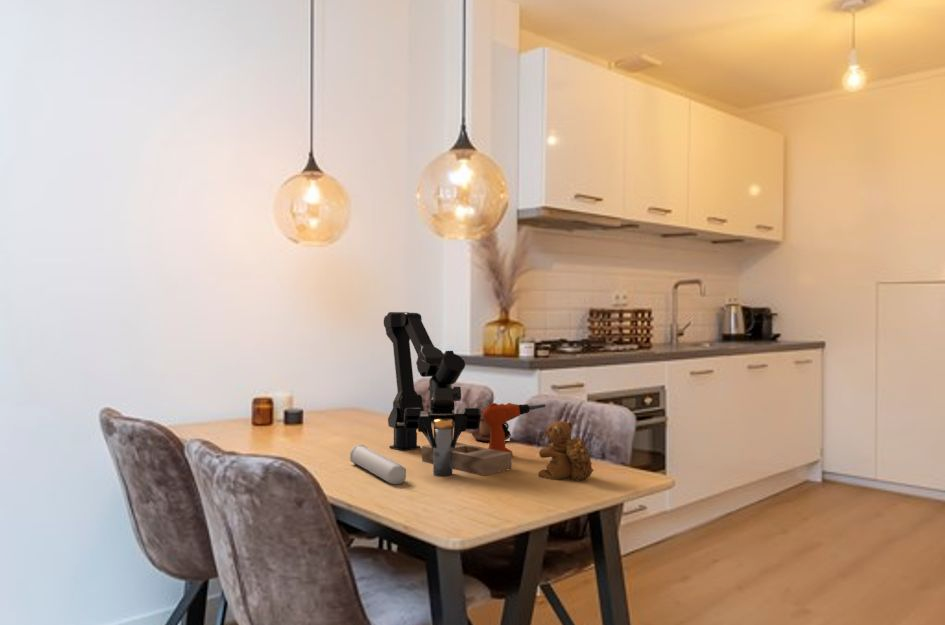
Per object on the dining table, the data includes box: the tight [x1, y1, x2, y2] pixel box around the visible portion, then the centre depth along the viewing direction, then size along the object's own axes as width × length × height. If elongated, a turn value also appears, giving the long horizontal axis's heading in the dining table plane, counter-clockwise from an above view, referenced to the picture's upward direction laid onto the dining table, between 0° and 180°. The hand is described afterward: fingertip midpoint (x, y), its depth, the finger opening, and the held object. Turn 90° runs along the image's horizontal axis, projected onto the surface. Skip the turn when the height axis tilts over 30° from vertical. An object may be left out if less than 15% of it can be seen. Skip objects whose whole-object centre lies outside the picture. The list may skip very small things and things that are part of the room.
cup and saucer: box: [471, 418, 512, 443], centre depth 211 cm, size 12×12×6 cm
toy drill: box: [482, 402, 547, 455], centre depth 188 cm, size 5×19×15 cm, turn 106°
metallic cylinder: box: [432, 418, 454, 477], centre depth 165 cm, size 5×5×13 cm
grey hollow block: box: [421, 442, 513, 476], centre depth 175 cm, size 22×10×4 cm, turn 47°
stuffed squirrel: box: [537, 420, 594, 481], centre depth 164 cm, size 10×14×13 cm
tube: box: [349, 444, 407, 486], centre depth 165 cm, size 5×5×25 cm
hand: (443, 447), depth 164 cm, fingers closed on metallic cylinder, 5 cm apart
